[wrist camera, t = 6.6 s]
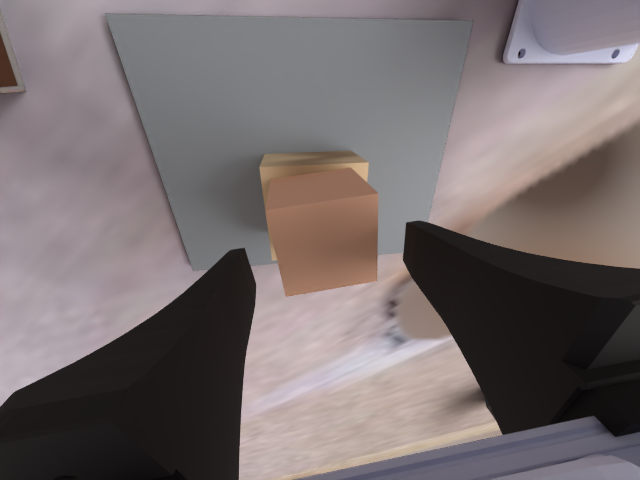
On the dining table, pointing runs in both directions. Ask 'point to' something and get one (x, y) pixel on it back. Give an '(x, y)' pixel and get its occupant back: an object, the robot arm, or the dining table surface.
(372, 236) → the terracotta block
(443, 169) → the dining table surface
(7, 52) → the food container
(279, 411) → the dining table surface
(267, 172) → the oak base block
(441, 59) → the slate board
